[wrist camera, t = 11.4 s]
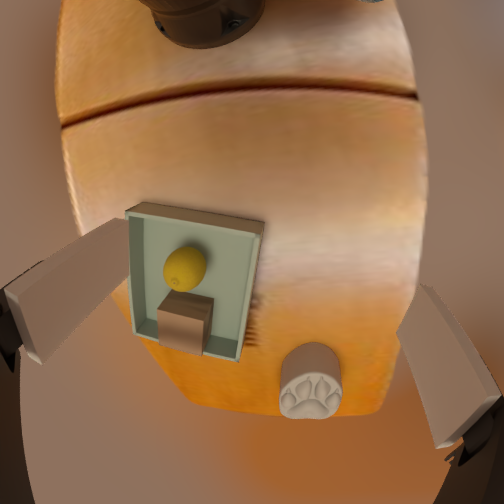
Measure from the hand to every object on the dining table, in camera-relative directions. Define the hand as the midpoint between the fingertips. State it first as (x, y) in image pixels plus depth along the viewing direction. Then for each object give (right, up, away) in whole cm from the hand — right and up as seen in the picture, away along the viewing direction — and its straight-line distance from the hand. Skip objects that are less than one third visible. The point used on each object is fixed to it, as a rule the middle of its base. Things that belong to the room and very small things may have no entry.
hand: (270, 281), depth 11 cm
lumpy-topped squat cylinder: (+10, -20, +35) cm, 42 cm away
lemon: (-9, +1, +29) cm, 30 cm away
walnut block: (-10, -8, +33) cm, 35 cm away
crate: (-10, -3, +31) cm, 33 cm away
